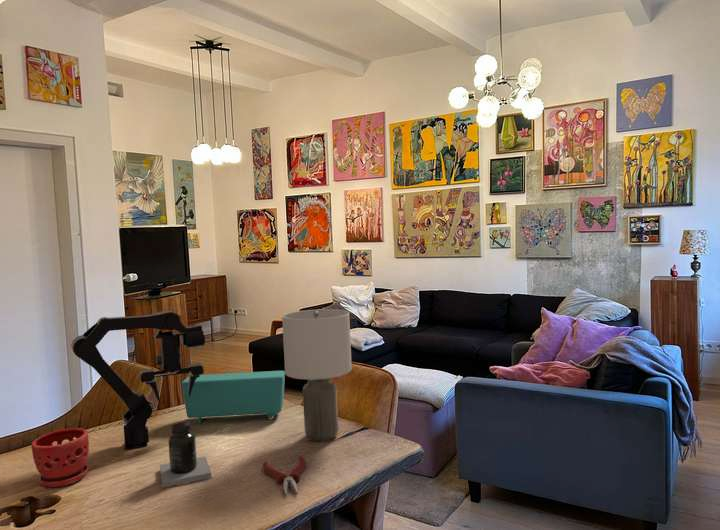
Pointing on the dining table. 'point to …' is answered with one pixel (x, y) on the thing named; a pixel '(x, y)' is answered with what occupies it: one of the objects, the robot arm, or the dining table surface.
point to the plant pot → (61, 456)
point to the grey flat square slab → (197, 474)
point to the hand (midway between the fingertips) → (174, 398)
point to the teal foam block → (235, 394)
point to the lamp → (318, 364)
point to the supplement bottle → (182, 448)
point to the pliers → (283, 478)
